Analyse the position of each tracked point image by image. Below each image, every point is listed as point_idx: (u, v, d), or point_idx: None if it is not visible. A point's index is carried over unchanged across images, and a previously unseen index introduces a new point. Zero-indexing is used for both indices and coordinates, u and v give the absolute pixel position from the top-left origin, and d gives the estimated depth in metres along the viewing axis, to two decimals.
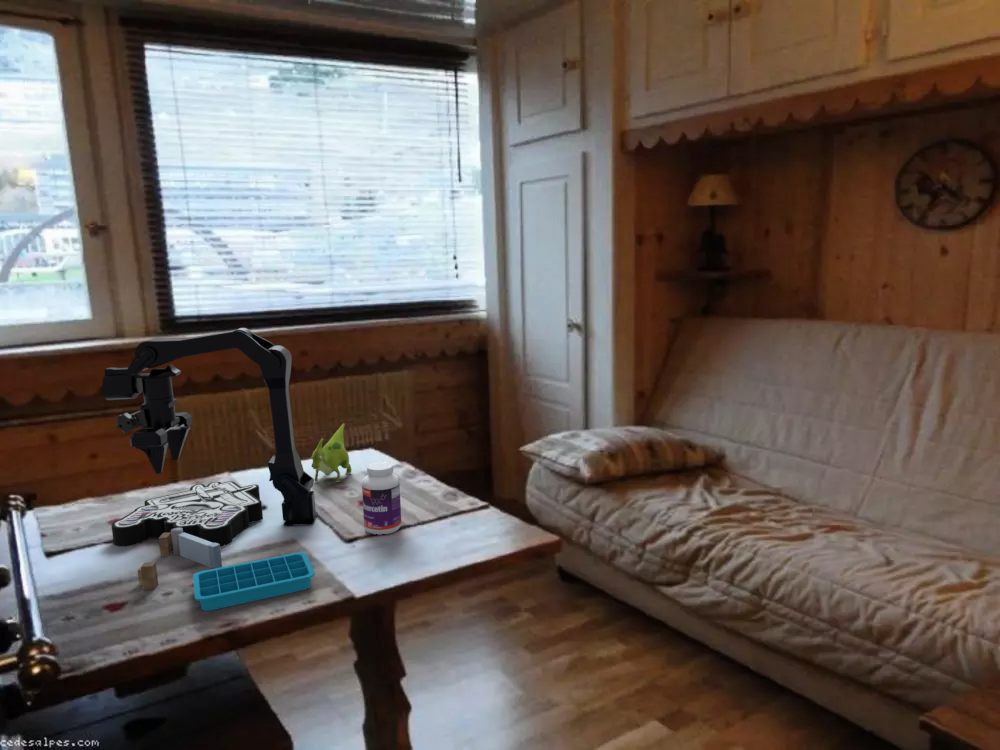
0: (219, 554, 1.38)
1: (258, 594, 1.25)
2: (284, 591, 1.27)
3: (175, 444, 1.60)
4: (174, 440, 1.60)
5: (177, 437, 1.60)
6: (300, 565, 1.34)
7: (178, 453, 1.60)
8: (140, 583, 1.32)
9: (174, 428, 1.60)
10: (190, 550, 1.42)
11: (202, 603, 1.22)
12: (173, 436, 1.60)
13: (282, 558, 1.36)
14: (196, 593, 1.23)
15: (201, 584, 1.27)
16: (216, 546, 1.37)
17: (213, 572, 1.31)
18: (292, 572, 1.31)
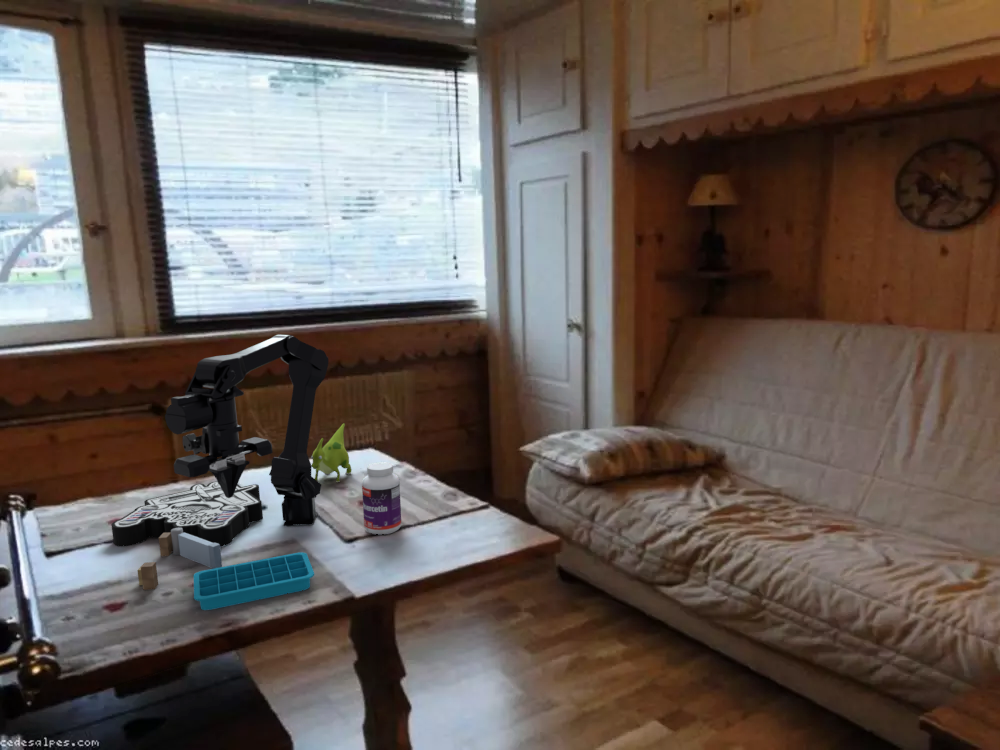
0: (219, 554, 1.38)
1: (257, 594, 1.25)
2: (284, 591, 1.27)
3: None
4: None
5: (231, 472, 1.42)
6: (301, 565, 1.34)
7: (231, 490, 1.42)
8: (140, 583, 1.32)
9: (231, 461, 1.42)
10: (190, 550, 1.42)
11: (201, 603, 1.22)
12: None
13: (283, 558, 1.36)
14: (195, 593, 1.23)
15: (201, 584, 1.27)
16: (216, 546, 1.37)
17: (213, 572, 1.31)
18: (292, 572, 1.31)
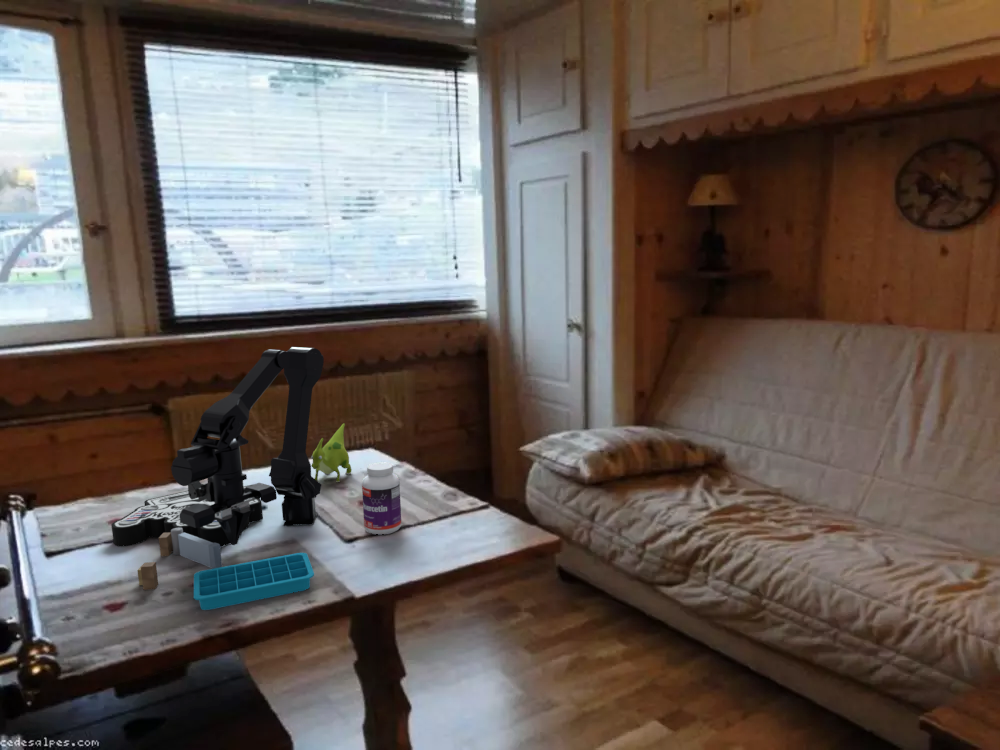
0: (219, 554, 1.38)
1: (257, 594, 1.25)
2: (283, 591, 1.27)
3: None
4: None
5: (236, 519, 1.44)
6: (301, 565, 1.34)
7: (236, 537, 1.44)
8: (140, 583, 1.32)
9: (236, 509, 1.44)
10: (190, 550, 1.42)
11: (201, 603, 1.22)
12: None
13: (283, 558, 1.36)
14: (195, 592, 1.23)
15: (201, 583, 1.28)
16: (216, 546, 1.37)
17: (214, 572, 1.32)
18: (292, 572, 1.30)
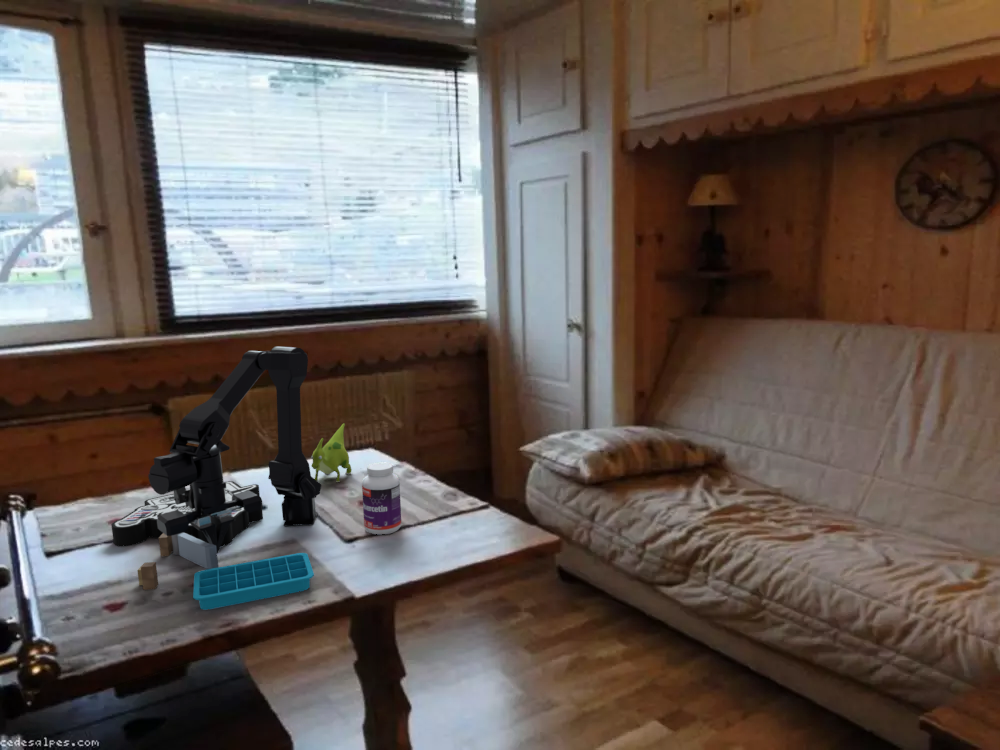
0: (215, 556, 1.37)
1: (256, 594, 1.25)
2: (283, 591, 1.27)
3: None
4: (215, 530, 1.40)
5: (216, 528, 1.40)
6: (301, 565, 1.34)
7: (216, 546, 1.40)
8: (140, 583, 1.32)
9: (217, 517, 1.40)
10: (188, 551, 1.41)
11: (201, 602, 1.22)
12: (215, 526, 1.40)
13: (283, 558, 1.36)
14: (195, 592, 1.23)
15: (201, 583, 1.28)
16: (212, 548, 1.37)
17: (214, 571, 1.32)
18: (292, 573, 1.30)
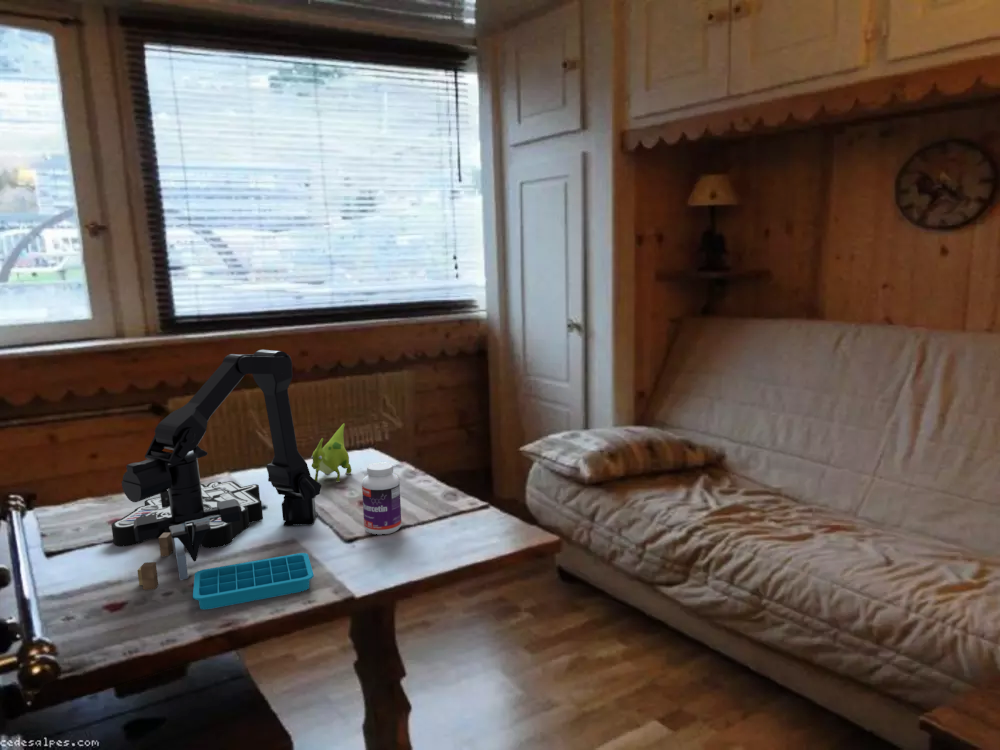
0: (185, 565, 1.34)
1: (256, 594, 1.25)
2: (283, 592, 1.27)
3: (193, 543, 1.37)
4: (193, 538, 1.37)
5: (193, 536, 1.36)
6: (301, 566, 1.34)
7: None
8: (140, 583, 1.32)
9: (195, 525, 1.37)
10: None
11: (200, 602, 1.22)
12: (193, 533, 1.37)
13: (284, 558, 1.36)
14: (195, 592, 1.23)
15: (202, 583, 1.28)
16: (181, 557, 1.33)
17: (215, 571, 1.32)
18: (292, 573, 1.30)
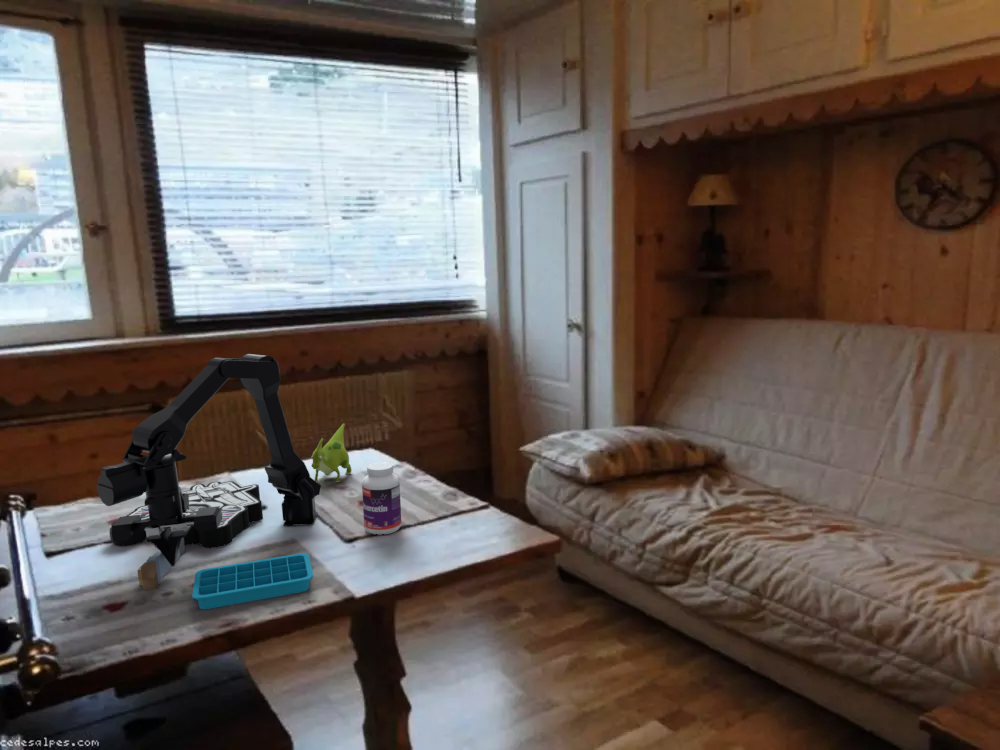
0: None
1: (255, 594, 1.25)
2: (282, 592, 1.27)
3: None
4: None
5: None
6: (302, 566, 1.34)
7: None
8: (140, 583, 1.32)
9: None
10: None
11: (200, 602, 1.22)
12: None
13: (285, 559, 1.36)
14: (194, 591, 1.23)
15: (202, 582, 1.28)
16: (150, 561, 1.32)
17: (215, 570, 1.32)
18: (292, 573, 1.30)
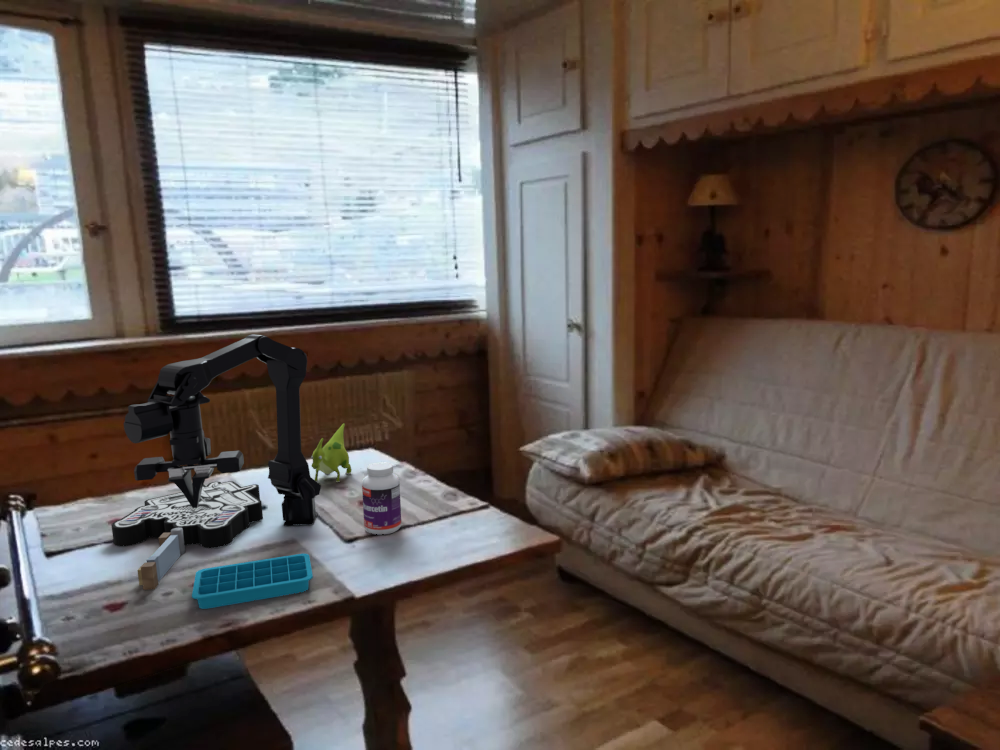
0: None
1: (255, 594, 1.25)
2: (281, 593, 1.27)
3: None
4: None
5: None
6: (302, 567, 1.34)
7: (194, 500, 1.37)
8: (140, 583, 1.32)
9: None
10: None
11: (199, 601, 1.23)
12: None
13: (285, 559, 1.36)
14: (194, 591, 1.23)
15: (202, 582, 1.28)
16: (150, 561, 1.32)
17: (216, 570, 1.32)
18: (291, 574, 1.30)
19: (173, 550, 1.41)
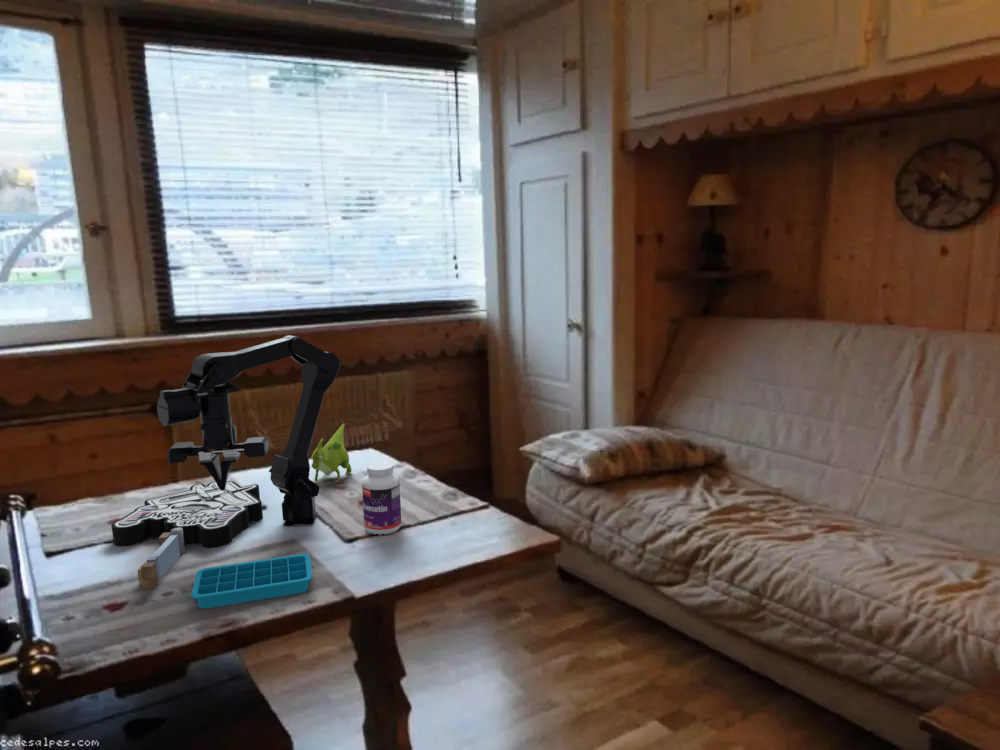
0: None
1: (254, 594, 1.25)
2: (281, 593, 1.27)
3: None
4: None
5: None
6: (302, 567, 1.34)
7: None
8: (140, 583, 1.32)
9: None
10: None
11: (199, 601, 1.23)
12: None
13: (286, 559, 1.36)
14: (194, 591, 1.24)
15: (202, 581, 1.28)
16: (150, 561, 1.32)
17: (217, 570, 1.32)
18: (291, 574, 1.30)
19: (173, 550, 1.41)
